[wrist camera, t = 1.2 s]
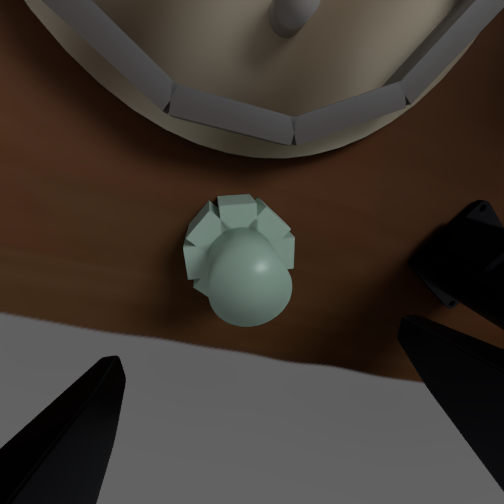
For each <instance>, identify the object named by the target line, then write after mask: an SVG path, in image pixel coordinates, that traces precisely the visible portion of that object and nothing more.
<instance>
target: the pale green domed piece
mask: <svg viewBox="0 0 504 504" xmlns="http://www.w3.org/2000/svg"><path fill="white" fill-rule="evenodd" d="M217 198H218V207H216V206H215V205H214V204H213V203H212V202H210V201H208V202H207V204H206V205H205V206H204V207H203V208H202V209H201V211H200V212H199V213H198V214H197V215H196V217H195V218H194V219H193V220H192V221H191V222H190V224H189V226H188V231H187V233H186V237H185V242H184V246H183V251H184V257H185V263H186V270H187V276H188V280H191V279H194V283H193V287H194V288H195V289H197V290H198V291H200V292H201V293H203V294H204V295H206V296H207V297H209V302H210V305H211V307H212V309H213V311H214V312H215V313H216V314H217V315H218V316H219V317H220V318H221V319H222V320H224V321H226V322H227V323H230V324H232V325H236V326H242V327H250V326H257V325H261V324H264V323H266V322H268V321H270V320H272V319H273V318H275V317H276V316H277V315H279V314H280V313H281V312H282V311H283V310H284V308H285V307H286V305H287V304H288V302H289V299H290V297H291V293H292V281H291V277H290V274H289V272H288V270H287V269H291V268H294V241H295V237H294V236H293V235H292V234H291V233H290V232H289V231H290V230H291V228H290V227H289V226H288V225H287V224H286V223H285V222H284V221H283V220H282V219H281V218H280V217H279V216H278V215H277V214H276V213H275V212H274V211H272V210H271V209H270V208H269V207H268V206H267V205H266V204H265V203H264V202H263V201H262V200H260V199H259V198H258V197H257V198H256V200H254V199H253V198H252V197H251V195H250V194H244V195H229V196H217Z"/></svg>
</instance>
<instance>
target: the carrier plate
mask: <svg viewBox="0 0 504 504" xmlns="http://www.w3.org/2000/svg"><path fill="white" fill-rule="evenodd" d="M24 1H25V2H26V3H27V5H28V6H29V8H30V9H31V10H32V12H33V13H34V14H35V15H36V16H37V18H38V19H39V20H40V21H41V22H42V23H43V25H44V26H45V27H46V28H47V29H48V30H49V32H50V33H51V34H52V35H53V36H54V37H55V39H56V40H57V41H58V42H59V43H60V44H61V46H62V47H63V48H64V49H65V50H66V51H67V52H68V53H69V54H70V55H71V56H72V57H73V58H74V59H75V60H76V61H77V62H78V63H79V64H80V65H81V66H82V67H83V68H84V69H85V70H86V71H87V72H88V73H89V74H90V75H91V76H92V77H93V78H95V79H96V80H97V81H98V82H99V83H100V84H101V85H102V86H103V87H105V88H106V89H107V90H109V91H110V92H111V93H112V94H114V95H115V96H116V97H118V98H119V99H120V100H121V101H123V102H124V103H125V104H126V105H128V106H129V107H130V108H132V109H133V110H134V111H136V112H138V113H139V114H141V115H143V116H144V117H146V118H148V119H149V120H151V121H152V122H154V123H156V124H157V125H159V126H161V127H162V128H164V129H165V130H168V131H170V132H172V133H174V134H176V135H179V136H181V137H183V138H185V139H187V140H190V141H192V142H194V143H196V144H199V145H202V146H206V147H209V148H212V149H215V150H219V151H222V152H225V153H230V154H236V155H242V156H248V157H255V158H292V157H300V156H308V155H314V154H318V153H322V152H325V151H329V150H333V149H337V148H340V147H343V146H345V145H347V144H350V143H352V142H354V141H357V140H359V139H362V138H364V137H366V136H368V135H370V134H371V133H373V132H375V131H377V130H378V129H380V128H382V127H384V126H385V125H387V124H389V123H390V122H392V121H393V120H395V119H396V118H397V117H399V116H400V115H401V114H403V113H404V112H405V111H407V110H408V109H409V108H411V107H412V106H413V105H415V104H416V103H417V102H418V101H419V100H421V99H422V98H423V97H424V96H425V95H426V94H427V93H428V92H429V91H430V90H431V89H432V88H433V87H434V86H435V85H436V84H438V83H439V82H440V81H441V80H442V79H443V78H444V76H445V75H446V74H447V73H448V72H449V71H450V69H451V68H452V67H453V66H454V65H455V64H456V63H457V61H458V60H459V59H460V58H461V57H462V56H463V55H464V53H465V52H466V51H467V49H468V48H469V47H470V45H471V44H472V42H473V41H474V40H475V38H476V37H477V36H478V34H479V33H480V32H481V31H482V30H483V29H484V28H485V26H486V25H487V24H488V23H489V22H490V21H491V20H492V19H493V18H494V17H495V16H496V15H497V14H498V13H499V12H500V11H501V10H502V9H503V8H504V0H24Z"/></svg>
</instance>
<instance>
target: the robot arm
mask: <svg viewBox="0 0 504 504" xmlns="http://www.w3.org/2000/svg"><path fill="white" fill-rule="evenodd" d="M417 263H418V264H417ZM416 264H417V265H416ZM409 267H410V268H411V269H412V270H413V271H414V273H415V274H416V275H417V276H418V277H419V278H420V279H421V280H422V282H423V283H424V284H425V285H426V286H427V287H428V288H429V289H430V291H431V292H432V293H433V294H434V295H435V296H436V297H437V298H438V300H439V301H440V302H441V303H442V304H443V305H444V306H446V307H447V308H453V307H455V306H456V305H457V304H458V303H462V304H463V305H465V306H467V307H468V308H470V309H471V310H473V311H474V312H476V313H478V314H479V315H481V316H482V317H484V318H485V319H487V320H489V321H490V322H492V323H493V324H495V325H497V326H498V327H500V328H501V329H503V330H504V227H503V225H502V224H501V222H500V220H499V219H498V217H497V215H496V214H495V212H494V210H493V208H492V207H491V205H490V203H489V202H488V201H484V200H477V201H475V202H474V203H473V204H472V205H471V206H470V207H469V208H467V209H466V210H465V211H464V212H463V213H462V214H461V215H460V216H459V217H458V218H456V219H455V220H454V221H453V222H452V223H451V224H450V225H449V226H448V227H446V228H445V229H444V230H443V231H442V232H441V233H440V234H439V235H438V236H437V237H435V238H434V239H433V240H432V241H431V242H430V243H429V244H428V245H427V246H425V247H424V248H423V249H422V250H421V251H420V252H419V253H418V254H417V255H415V256H414V257H413V258H412V259H411V260H410V262H409ZM398 340H399V343H400V344H401V346H402V348H403V349H404V351H405V353H406V354H407V356H408V358H409V359H410V361H411V362H412V364H413V366H414V367H415V369H416V371H417V372H418V374H419V376H420V377H421V379H422V380H423V382H424V383H425V385H426V386H427V388H428V389H429V391H430V392H431V394H432V395H433V396H434V398H435V399H436V400H437V402H438V403H439V404H440V406H441V407H442V408H443V410H444V411H445V413H446V414H447V415H448V417H449V418H450V419H451V421H452V422H453V423H454V425H455V426H456V428H457V429H458V430H459V431H460V433H461V434H462V436H463V437H464V438H465V440H466V441H467V442H468V444H469V445H470V446H471V448H472V449H473V451H474V452H475V453H476V455H477V456H478V457H479V459H480V460H481V461H482V463H483V464H484V465H485V467H486V468H487V470H488V471H489V472H490V474H491V475H492V476H493V478H494V479H495V481H496V482H497V483H498V484H499V486H500V487H501V489H502V490H503V491H504V348H503V349H501V348H499V347H496V346H494V345H491V344H489V343H486V342H484V341H481V340H479V339H476V338H474V337H471V336H469V335H466V334H464V333H461V332H459V331H456V330H454V329H451V328H449V327H446V326H444V325H441V324H439V323H436V322H434V321H431V320H429V319H426V318H424V317H422V316H419V315H416V314H413V315H406V316H403V317H402V319H401V323H400V327H399V331H398ZM125 383H126V377H125V373H124V370H123V367H122V364H121V361H120V358H119V357H118V356H109V357H103V358H101V359H100V360H99V361H98V362H97V363H95V364H94V365H93V366H92V367H91V368H90V369H89V370H88V371H87V372H85V374H83V375H82V376H81V377H80V378H79V379H78V380H77V381H75V382H74V383H73V384H72V385H71V386H70V387H69V388H68V389H66V390H65V391H64V392H63V393H62V394H61V395H60V396H59V397H57V398H56V399H55V400H54V401H53V402H52V403H51V404H50V405H49V406H47V407H46V408H45V409H44V410H43V411H42V412H41V413H40V414H38V415H37V416H36V417H35V418H34V419H33V420H32V421H31V422H30V423H29V424H27V425H26V426H25V427H24V428H23V429H22V430H21V431H20V432H18V433H17V434H16V435H15V436H14V437H13V438H12V439H11V440H9V441H8V442H7V443H6V444H5V445H4V446H3V447H2V448H1V449H0V504H96V502H97V499H98V496H99V492H100V489H101V485H102V482H103V479H104V475H105V472H106V469H107V465H108V462H109V459H110V455H111V451H112V448H113V444H114V440H115V436H116V431H117V426H118V421H119V415H120V410H121V405H122V400H123V394H124V389H125Z"/></svg>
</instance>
